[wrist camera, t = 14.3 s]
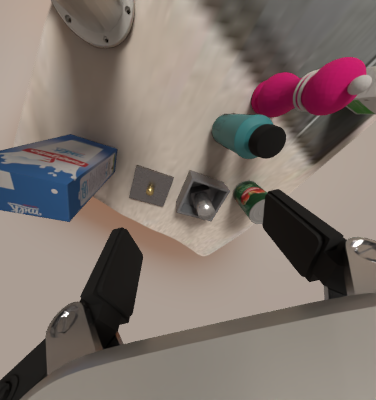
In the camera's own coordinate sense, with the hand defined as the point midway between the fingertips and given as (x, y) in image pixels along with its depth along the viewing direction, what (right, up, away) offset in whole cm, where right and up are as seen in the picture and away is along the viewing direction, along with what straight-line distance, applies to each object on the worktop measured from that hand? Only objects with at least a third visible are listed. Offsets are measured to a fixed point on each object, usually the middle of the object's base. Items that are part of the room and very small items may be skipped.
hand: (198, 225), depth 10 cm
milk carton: (-24, +13, +25) cm, 37 cm away
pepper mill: (+17, +25, +23) cm, 38 cm away
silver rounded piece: (+3, +4, +33) cm, 34 cm away
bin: (+3, +4, +34) cm, 34 cm away
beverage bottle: (+8, +19, +25) cm, 33 cm away
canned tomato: (+17, +5, +36) cm, 40 cm away
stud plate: (-11, +6, +31) cm, 34 cm away
